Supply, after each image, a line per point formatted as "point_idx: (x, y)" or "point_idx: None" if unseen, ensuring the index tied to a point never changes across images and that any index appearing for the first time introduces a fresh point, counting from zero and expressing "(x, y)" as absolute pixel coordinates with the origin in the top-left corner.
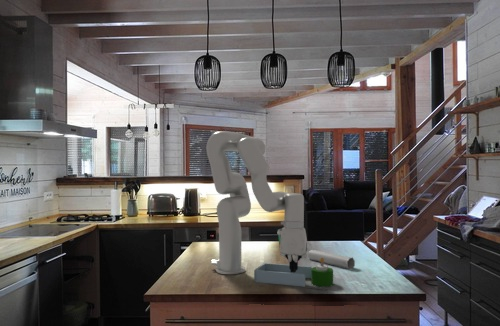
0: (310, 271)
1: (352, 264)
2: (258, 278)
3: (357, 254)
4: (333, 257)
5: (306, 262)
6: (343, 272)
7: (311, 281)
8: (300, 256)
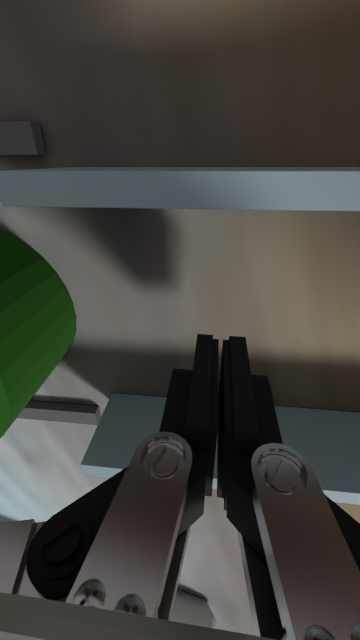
0: (100, 432)
1: None
2: None
3: None
4: None
5: (212, 579)
6: (7, 494)
7: (52, 287)
8: (41, 561)
